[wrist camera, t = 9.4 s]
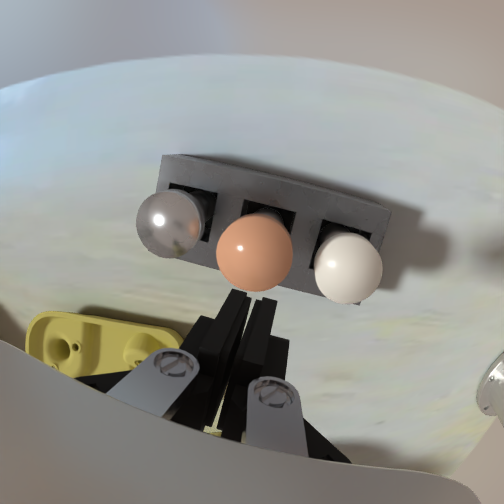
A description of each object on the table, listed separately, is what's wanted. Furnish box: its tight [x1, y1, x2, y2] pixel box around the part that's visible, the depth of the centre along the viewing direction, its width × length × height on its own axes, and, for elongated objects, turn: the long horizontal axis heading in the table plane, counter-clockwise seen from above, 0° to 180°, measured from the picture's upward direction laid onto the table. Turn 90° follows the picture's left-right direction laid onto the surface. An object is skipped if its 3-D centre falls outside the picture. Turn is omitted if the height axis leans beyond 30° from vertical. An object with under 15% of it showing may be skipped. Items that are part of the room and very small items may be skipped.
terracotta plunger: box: [216, 208, 293, 292], centre depth 23 cm, size 4×4×8 cm
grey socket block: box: [148, 154, 391, 305], centre depth 26 cm, size 18×8×4 cm, turn 77°
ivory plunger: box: [314, 222, 383, 304], centre depth 24 cm, size 4×4×8 cm
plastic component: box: [25, 311, 184, 378], centre depth 34 cm, size 20×7×10 cm
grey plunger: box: [136, 189, 217, 258], centre depth 24 cm, size 4×4×8 cm
